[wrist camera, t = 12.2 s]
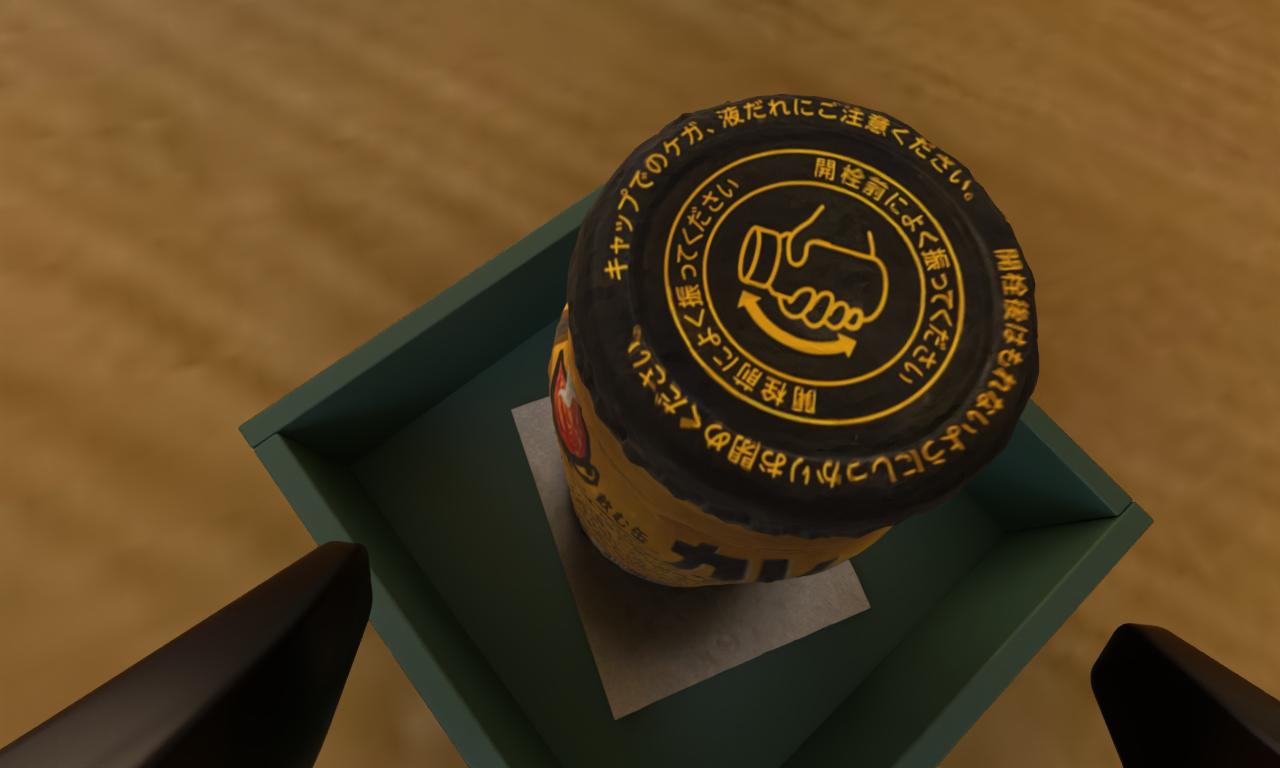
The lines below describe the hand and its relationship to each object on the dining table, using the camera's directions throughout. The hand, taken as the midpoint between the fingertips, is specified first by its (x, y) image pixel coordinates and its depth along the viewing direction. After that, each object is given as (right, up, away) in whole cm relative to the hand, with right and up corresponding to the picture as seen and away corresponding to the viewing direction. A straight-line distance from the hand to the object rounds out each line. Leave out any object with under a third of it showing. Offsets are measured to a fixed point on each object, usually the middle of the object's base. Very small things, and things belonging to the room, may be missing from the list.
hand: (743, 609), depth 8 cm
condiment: (0, -1, +10) cm, 10 cm away
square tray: (0, -1, +11) cm, 11 cm away
